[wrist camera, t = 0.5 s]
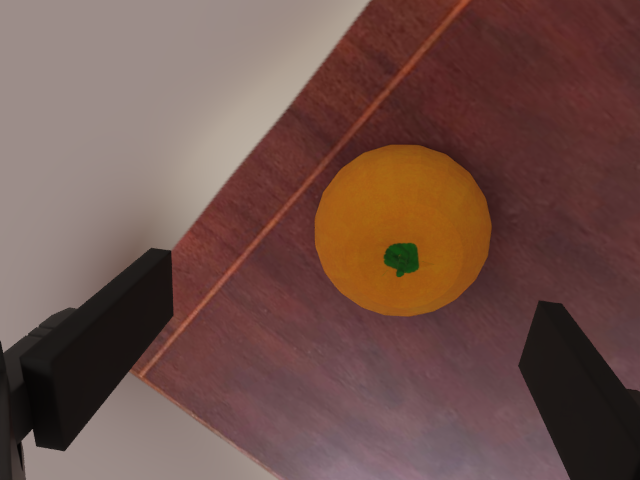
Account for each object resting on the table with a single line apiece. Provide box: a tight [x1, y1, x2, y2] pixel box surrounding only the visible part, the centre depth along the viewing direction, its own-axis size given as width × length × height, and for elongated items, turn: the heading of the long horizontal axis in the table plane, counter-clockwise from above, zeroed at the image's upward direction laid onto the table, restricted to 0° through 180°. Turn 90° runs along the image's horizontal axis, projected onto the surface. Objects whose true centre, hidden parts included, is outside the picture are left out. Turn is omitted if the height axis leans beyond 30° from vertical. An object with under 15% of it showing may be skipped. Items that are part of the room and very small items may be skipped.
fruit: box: [315, 145, 492, 317], centre depth 30 cm, size 12×12×10 cm
